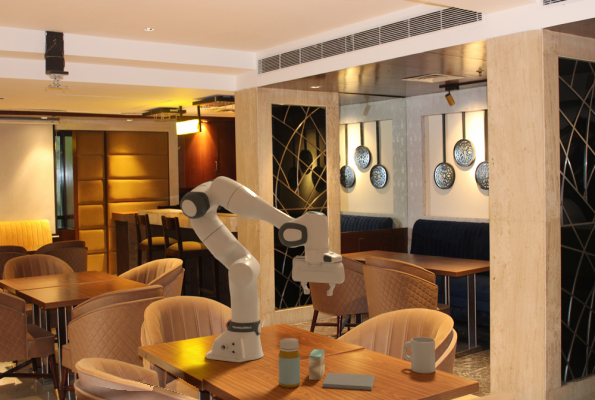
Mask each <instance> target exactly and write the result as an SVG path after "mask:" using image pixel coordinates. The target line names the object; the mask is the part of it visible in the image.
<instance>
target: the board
mask: <svg viewBox="0 0 595 400" xmlns="http://www.w3.org/2000/svg"><path fill="white" fill-rule="evenodd" d="M374 382H375V375H373V374H361V373H360V374H358V373H356V374H355V373H342V372H341V373H340V372H327V374H326V376H325V378H324V381H323V382H322V388H329V389H331V388H332V389H346V390H347V389H348V390H360V389H361V390H362V389H363V390H364V391H372V389H373V386H374V385H373V384H374Z"/></svg>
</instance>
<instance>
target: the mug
mask: <svg viewBox="0 0 595 400" xmlns="http://www.w3.org/2000/svg"><path fill="white" fill-rule="evenodd" d="M407 347H410V355H411V356H410V355H408V354H407ZM402 349H403V350H402V353H403V357H404V359H406V360H407V361H410V369H411V371H412V372H414V373H417V374H433V373H435V371H436V340H435V339H434V338H432V337H427V336H415V337H413V338H411V339H410V341H406V342H405V343H404V344H403V347H402Z"/></svg>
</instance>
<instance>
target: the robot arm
mask: <svg viewBox="0 0 595 400" xmlns="http://www.w3.org/2000/svg"><path fill="white" fill-rule="evenodd" d="M179 204H180V205H179V207H180V209H181V212H182V213H183V215H184V216H185V217H187V218H188V219H190V222H189V223H190V225H191V228H192V229H193V231H194V233H195V234H196V235H197V237H198V238H199V240H200V241H201V243H203V245H204V246H205V247H206V248H207V250H208V251H209V252H210V254H212V255H213V257H214V259H216V260H218V261H219V263H221V264H222V265H223V266H225V268H226V269H227V270H228V286H229V287H228V288H229V294H230V314H231V315H230V319H228V321H226V323H225V327H226V330H224V331H223V332H222V333H221V334H219V335H218V336H217V337H216V338H215V339H214V340H213V342H212V346H211V350H209V351H208V352H207V353H206V355H205V357H206V359H208V360H214V361H215V360H216V361H217V360H218V361H225V362H232V363H244V362H248V361H254V360H259V359H261V358H263V357H264V352H263V347H262V342H261V332H262V324H261V319H260V297H259V290H258V289H259V287H258V278H259V276H260V275H261V265H260V263H259V261H258V259H256V258H255V257H254V256H253V255H252V253H251V252H250V251H249V250H248V249H247V248H246V247H245V246H244V245H243V244H242V243H241V242H240V241H239V240H238V239H237V238H236V236H235V235H234V234H233V233H232V232H231V231H230V230H229V228H228V227H227V226H226V225H225V224H224V222H223V221H222V220H221V219H220V218H219V216H218V213H217V211H218V210H221V209H222V207H223V208H224V209H225V210H227V211H229V212H230V213H232V214H233V215H236V216H238V217H240V218H243V219H248V220H249V219H250V220H259V221H263V222H266V223H268V224H270V225H272V226H274V227H276V228H277V229H278V236H277V237H278V239H279V241H280V243H281V244H282V245H283V246H285V247H287V248H297V247H303V246H304V255H296V256H294V257H293V259H292V271H291V272H292V273H291V278H292V280H293V281H294V282H300V285H301V287H302V289H303V294H304V295H310V293H311V289H310V288H308V286H307V284H308V283H323V284H328V285H329V289H328V290H326V296H327V297H328V296H329V297H331V296H333V294H334V293H333V291H334V289H335V287H336V284H338V285H339V284H343V283H344V282H345V281H346V274H345V267H344V264H343V262H342V261H343V256H342V255H341V254H339V253H337V252H334V251H332V250H330V245H329V238H330V228H329V220H328V216H327V215H326V214H325V213H323V212H321V211H313V210H312V211H311V210H309V211H306V212H305V213H304V214H302V215H301V216H298V217H296V218H295V217H293V216H290V215H289V214H287V213H286V212H285V211H282V210H281V209H278V208H276V207H275V206H273V205H271V203H269V202H267V201H266V200H264V198H262V197H261V196H259V195H258V194H257V193H255V192H254V191H252V190H251V189H250V188H248V187H247V186H246V185H244V184H242V183H240V182H238V181H236V180H234V179H232V178H230V177H227V176H222V175H221V176H217V177H216V178H214V179H210V180H207V181H206V182H203V183H201V184H199V185H197V186H196V187H194V188H193V189H192V190H191V191H188V192H186V193H185V194H184V195H183V196H182V198H181V200H180V203H179Z"/></svg>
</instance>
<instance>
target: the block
mask: <svg viewBox="0 0 595 400" xmlns="http://www.w3.org/2000/svg"><path fill="white" fill-rule="evenodd" d="M325 358H326V357H325V349H312V351H311V352H310V354H309V355H308V379H309V380H316V381H317V380H318V381H319V380H320V381H321V380H322V378H323V375H324V374H325V372H326V371H325V370H326V369H325V366H326V365H325V364H326V363H325V360H326V359H325Z"/></svg>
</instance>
